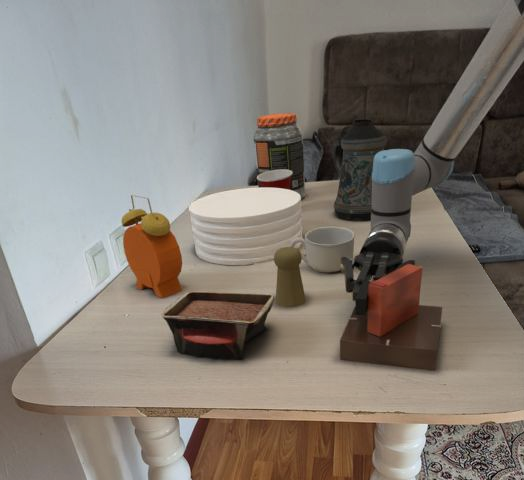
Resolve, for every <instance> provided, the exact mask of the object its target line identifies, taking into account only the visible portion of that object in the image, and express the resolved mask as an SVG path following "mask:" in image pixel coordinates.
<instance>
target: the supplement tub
mask: <svg viewBox="0 0 524 480" xmlns="http://www.w3.org/2000/svg"><path fill="white" fill-rule="evenodd" d="M297 121H298V119H297V114H296V113H294V112H287V113H285V112H284V113H273V114H267V115H266V114H265V115H261V116H258V117H257V118H256V125H257V129H256V130H255V132H254V134H253V147H254V157H255V165H256V166H255V167H256V177H257V176H258V175H260V174H262V173H264V172H268V171H272V170H281V169H284V170H291V171H292V172H293V173H292V176H291V182H290V190H292V191H295V192H297V193H298V194H300V196H301V200H302V199H303V198H304V197H305V194H306V181H305V180H306V179H305V160H304V159H305V158H304V142H303V140H304V139H303V132H302V129H301V128H300V126H299V124H298V122H297ZM260 187H261V185H260V182H259V180H258V179H257V188H260Z"/></svg>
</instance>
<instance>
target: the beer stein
mask: <svg viewBox="0 0 524 480" xmlns="http://www.w3.org/2000/svg"><path fill="white" fill-rule="evenodd" d="M387 141H388V137H387V136H386V134H385V133H384V132H383V131H382V130H380V129H378V128H377V127H376V126H375V124H373V122H372V119H355V120H353V122H352V124H351V125H345V126H344V127H342V129H341V131H340V136H339V137H338V138H337V139H336V140H335V144H334V145H333V149H332V159H333V163H334V166H335V169H336V172H337V174H338V176H339V182H338V189H337V192H336V198H335V201H334V203H333V209H334V213H335V217H336V218H338V219H340V220H343V221H347V222H371V211H372V171H373V161H374V157H375V155H376V154H377V153H378V152H380V151H384V150H385V147H386V144H387Z"/></svg>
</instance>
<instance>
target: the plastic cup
mask: <svg viewBox="0 0 524 480" xmlns="http://www.w3.org/2000/svg"><path fill="white" fill-rule="evenodd" d="M292 173H293V172H292V171H291V170H284V169H281V170H272V171H268V172H264V173H262V174H260V175H258V176H257V175H256V179H257V181H258V180H259V182H260V185H261V187H269V188H282V189H288V190H290V182H291V176H292Z"/></svg>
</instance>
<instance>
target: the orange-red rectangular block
mask: <svg viewBox="0 0 524 480" xmlns="http://www.w3.org/2000/svg"><path fill="white" fill-rule="evenodd" d="M422 276H423V267H422V266H420V265H416V264H415V265H412V264H407V265H405V266H403V267H401V268H399V269H398V270H396V271H394V272H392V273H390V274H388V275H386V276H384V277H382V278H380V279H378V280H376V281H375V280H374V281H373V280H371V281H372V282H370V284H369V292H368V326H367V332H369V333H372V334H374V335H377V336H379V337H381V336H383V335H384V334H386V333H387V332H389V331H391V330H392V329H394V328H396V327H397V326H399V325H400V324H402V323H404V322H405V321H407V320H408V319H410V318H412V317H413V316H415V315H417V314H418V311H419V305H420V301H421V289H422V287H421V286H422Z"/></svg>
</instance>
